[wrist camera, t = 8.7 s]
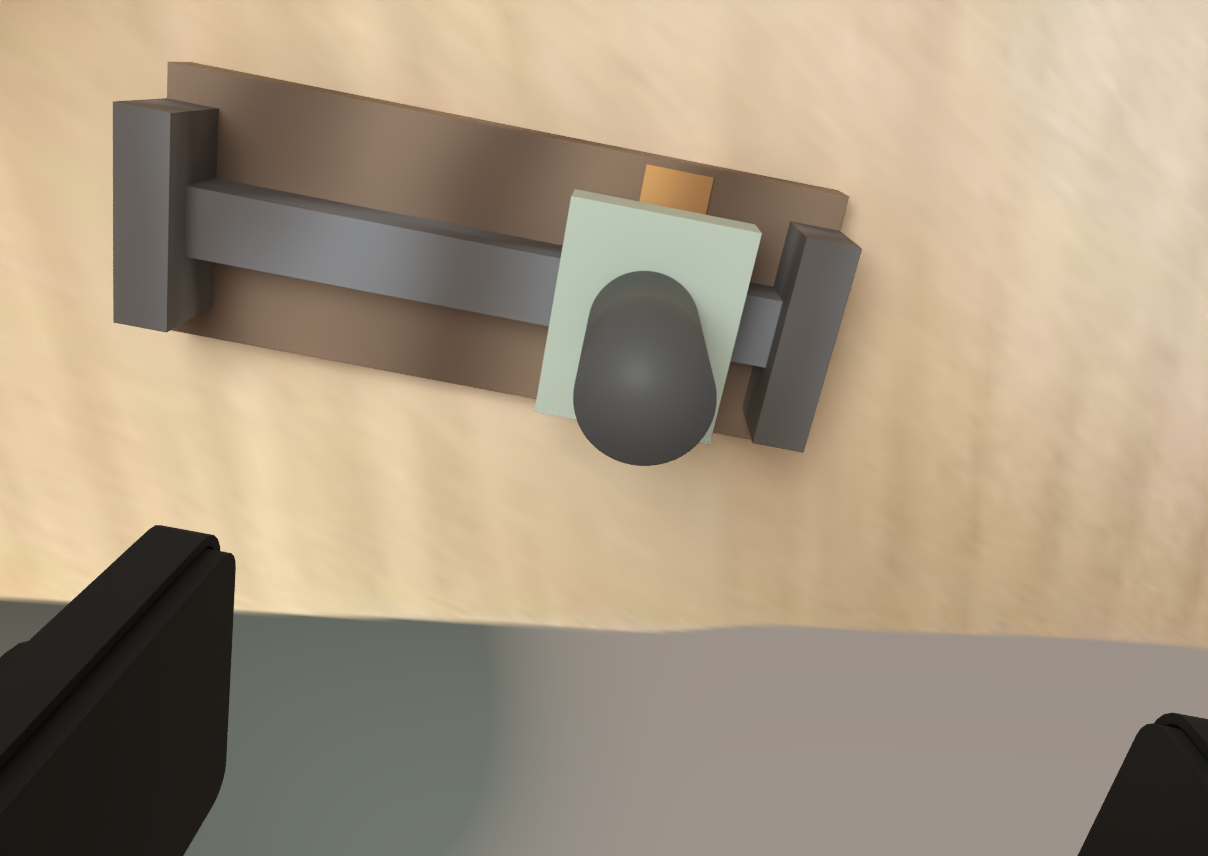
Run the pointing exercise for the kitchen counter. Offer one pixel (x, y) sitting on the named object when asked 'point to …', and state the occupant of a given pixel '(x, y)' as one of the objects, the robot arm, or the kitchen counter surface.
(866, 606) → the kitchen counter surface
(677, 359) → the carriage
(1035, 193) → the kitchen counter surface
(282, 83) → the rail base
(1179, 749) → the robot arm
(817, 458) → the kitchen counter surface
